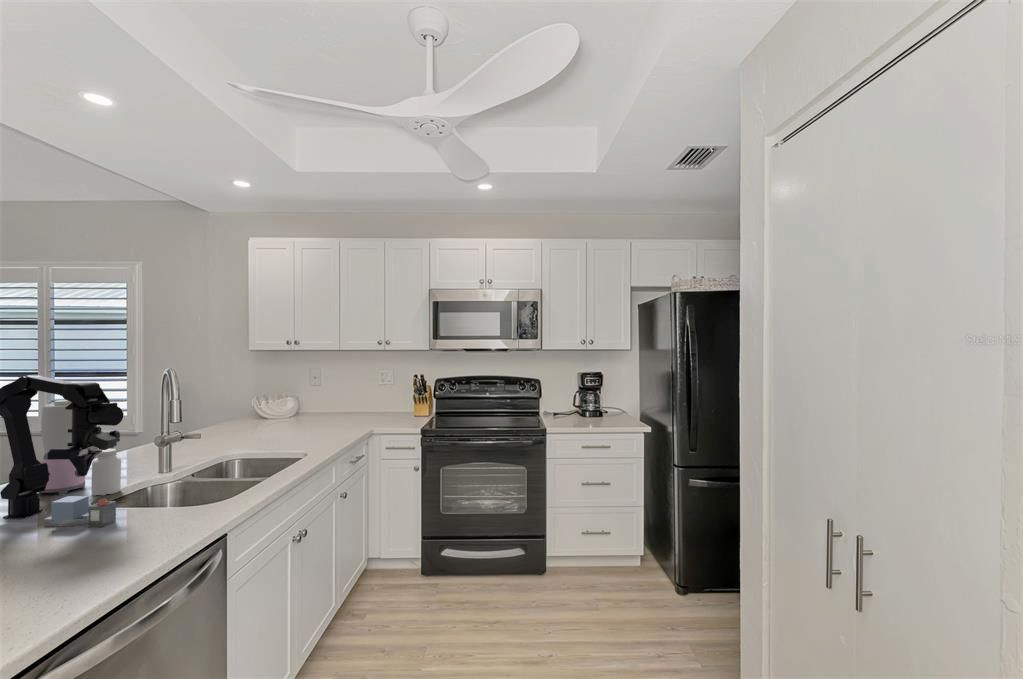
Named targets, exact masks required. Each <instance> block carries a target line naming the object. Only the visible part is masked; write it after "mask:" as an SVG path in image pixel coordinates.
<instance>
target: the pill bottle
mask: <svg viewBox="0 0 1023 679" xmlns="http://www.w3.org/2000/svg"><path fill="white" fill-rule="evenodd" d="M117 453H118V452H117V449H116V448H109V449H107V450H102V452H101V453H99V454H98V455H96V456H97V457H96V458H94V459H93V461H92V463H91V489H90V490H91V495H93V496H96V495H102V496H107V495H106V494H110V495H114V494H117V493H119V492H120V491H121V485H122V484H121V483H122V482H121V481H122V480H121V479H122V459H121V457H119V456H117Z"/></svg>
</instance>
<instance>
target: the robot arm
mask: <svg viewBox="0 0 1023 679" xmlns="http://www.w3.org/2000/svg"><path fill="white" fill-rule="evenodd" d="M38 392H41V393H42V392H43V393H48V394H52V395H57V396H60V397H62V398H63V400H68V401H70V402H72V403H71V404H70V405H68V406H67V407H66V408H65V409H66V410H72V428H71V429H68V433H72V442H69V443H68V446H72V447H58V448H54V449H51V450H49V451H48V452H47V459H69V460H70V461H71V463H72V464H73V465H74V467H75V468H76V470H77V471H78V473H79V474H80V476H85V477H86V476H87V475H88V473H89V471H90V467H92V463H93V461H94V460H95V457H96V456H97V455H98V454H99V453H101V452H102V450H107V449H115V447H116V446H117V445H118V443H119V442H120V440H121V438H120V437H121V434H120V431H119V430H116V429H115V430H112V431H111V430H110V432H104V431H103V432H102V427H101V426H110V427H111V426H115V427H116V426H117V425H120V423H121V422H122V421H123V418H124V412H123V409H122V408H121V407H120V406H118V402H111V401H110V399H109V398H108V397H107V395H106V394H105V392H104V390H103V389H102V387H101V385H100V383H98V382H96V381H95V382H92V381H91V382H89V381H87V382H85V381H84V382H83V381H81V382H79V381H78V382H71V381H66V380H61V379H57V378H51V377H45V376H43V375H39V374H29V375H22V376H20V377H18V378H17V379H16V380H14V381H12V382H9V383H8V384H5V385H3V386H1V387H0V417H1V418H2V419H3V421H4V426H5V429H6V435H7V439H8V444H9V449H10V453H11V458H12V463H13V466H12V468H11V470H10V472H9V474H8V483H7V484H6V485H5V486H4V487H3V489H1V491H0V497H1V500H7V515H4V516H2V519H27V518H29V517H32V516H35V515H37V514H40V513H42V512H44V509H40V508H41V506H40V505H41V499H40V498H39V497H40V494H39V492H43V491H45V488H46V485H47V482H48V481H49V475H50V473H49V471H48V465H47V463H41V461H39V460H38V458H37V455H36V451H35V446H34V442H33V437H32V432H31V429H30V424H29V420H28V415H27V414H28V412H29V410H30V408H31V406H32V398H34V397H35V396H36V395H38Z"/></svg>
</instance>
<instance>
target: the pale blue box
mask: <svg viewBox="0 0 1023 679" xmlns="http://www.w3.org/2000/svg"><path fill="white" fill-rule="evenodd" d="M89 497H90V496H89V495H88V496H87V495H72V496H71V495H68V496H64V497H62V498H59V499H57V500H54V501H51V515H50V516H51V520H73V519H76V518H78V517H80V516H86V515H88V507H89V501H90V500H89Z"/></svg>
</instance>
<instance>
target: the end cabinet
mask: <svg viewBox="0 0 1023 679" xmlns="http://www.w3.org/2000/svg"><path fill="white" fill-rule="evenodd" d="M116 512H117V500H107V504H106V505H98V502H97V503H94V504H92V505H90V506H89V507H88V513H87V516H88V526H87V527H88V528H91V529H92V528H105V527H106V526H109V525H111V524H113V523H114V522H116V520H117V518H116V516H117V513H116Z"/></svg>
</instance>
